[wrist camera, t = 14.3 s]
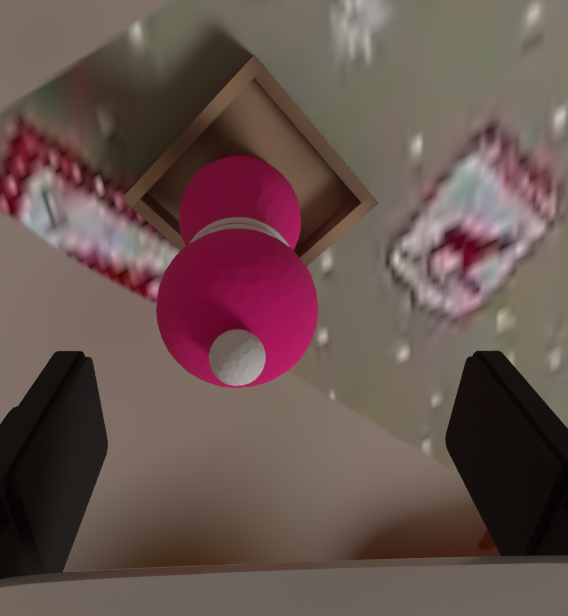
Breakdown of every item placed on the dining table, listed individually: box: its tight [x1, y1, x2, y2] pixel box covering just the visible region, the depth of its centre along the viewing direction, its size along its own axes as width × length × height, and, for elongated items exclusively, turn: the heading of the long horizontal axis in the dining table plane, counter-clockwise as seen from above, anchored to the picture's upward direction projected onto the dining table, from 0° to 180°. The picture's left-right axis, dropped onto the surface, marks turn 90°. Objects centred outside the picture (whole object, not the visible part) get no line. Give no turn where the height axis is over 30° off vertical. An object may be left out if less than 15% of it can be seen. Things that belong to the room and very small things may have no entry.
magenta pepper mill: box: [156, 154, 318, 388], centre depth 22 cm, size 7×7×20 cm
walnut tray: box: [122, 55, 378, 266], centre depth 31 cm, size 12×12×3 cm
